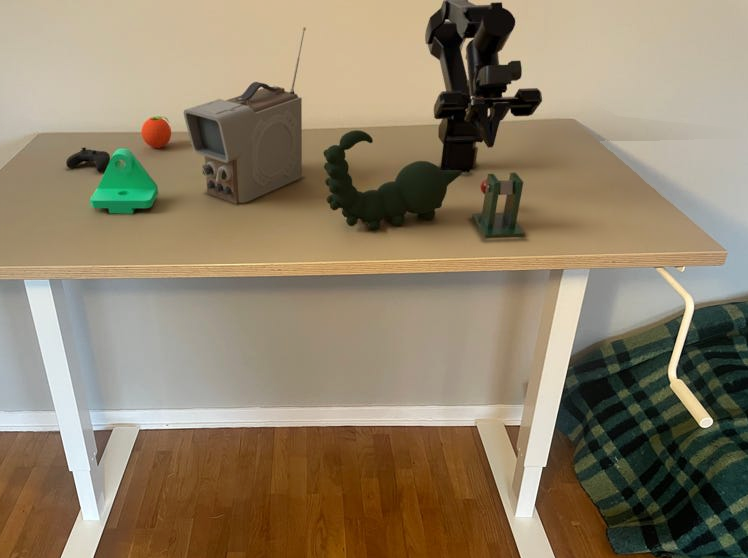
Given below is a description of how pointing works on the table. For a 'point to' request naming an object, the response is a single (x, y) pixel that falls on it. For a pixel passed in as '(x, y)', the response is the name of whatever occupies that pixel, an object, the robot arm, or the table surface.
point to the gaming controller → (89, 158)
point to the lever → (501, 187)
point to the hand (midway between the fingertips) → (490, 146)
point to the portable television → (249, 141)
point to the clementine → (156, 132)
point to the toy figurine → (385, 188)
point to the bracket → (500, 222)
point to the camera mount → (124, 185)
